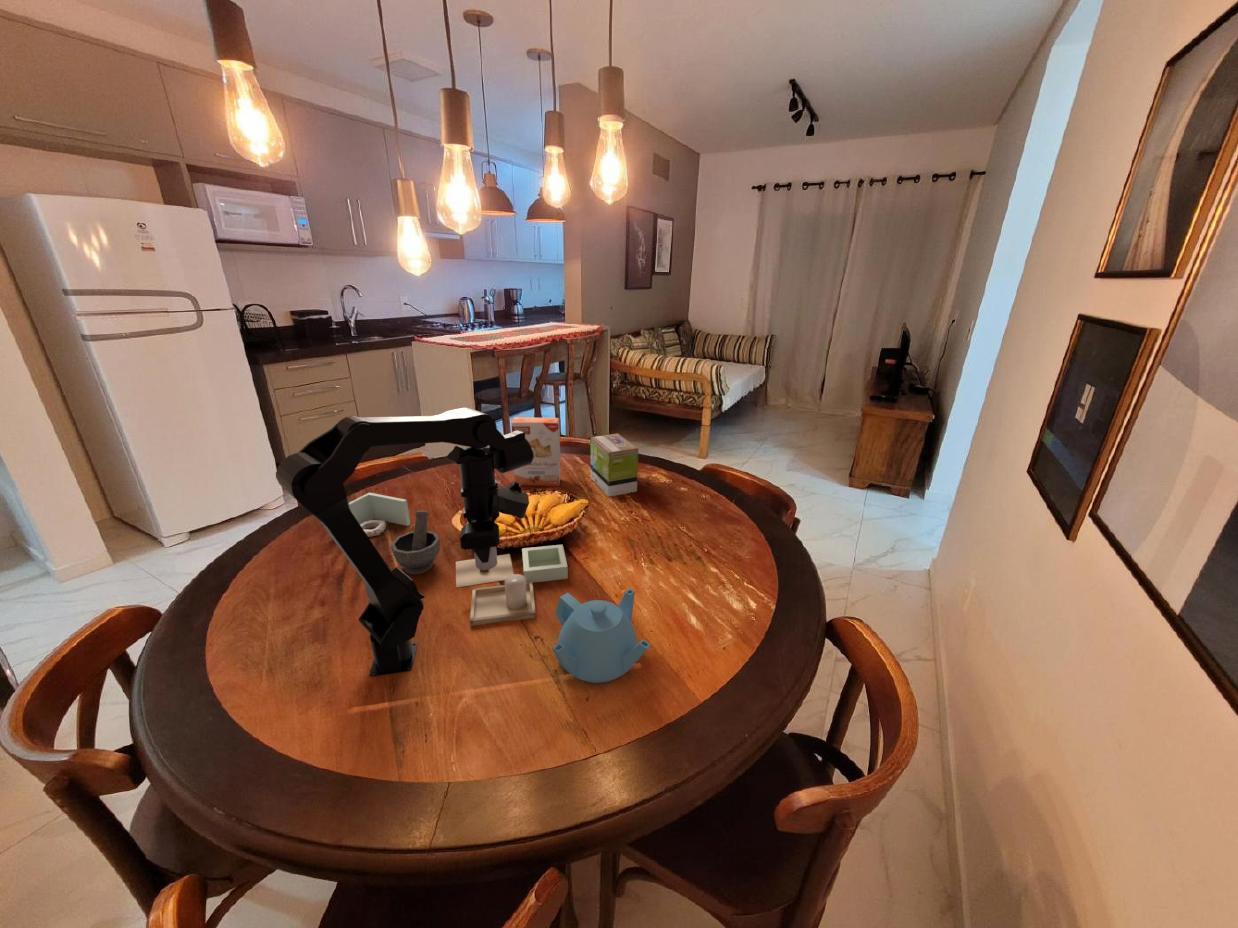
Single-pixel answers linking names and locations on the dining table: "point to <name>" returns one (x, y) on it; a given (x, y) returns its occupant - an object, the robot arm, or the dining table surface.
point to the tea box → (614, 464)
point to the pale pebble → (515, 591)
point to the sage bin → (544, 563)
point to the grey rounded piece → (491, 562)
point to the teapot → (597, 638)
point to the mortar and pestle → (417, 547)
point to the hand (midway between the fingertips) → (485, 555)
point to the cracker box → (540, 451)
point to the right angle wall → (379, 512)
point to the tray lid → (482, 572)
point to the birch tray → (498, 606)
